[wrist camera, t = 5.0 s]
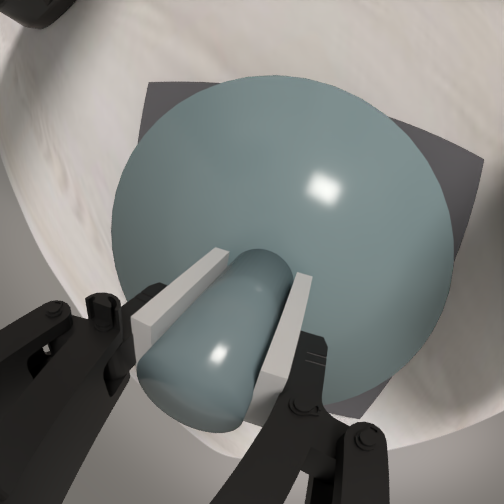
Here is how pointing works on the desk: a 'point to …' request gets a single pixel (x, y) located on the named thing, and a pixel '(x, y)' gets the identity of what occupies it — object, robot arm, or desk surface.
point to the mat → (431, 146)
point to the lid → (281, 240)
